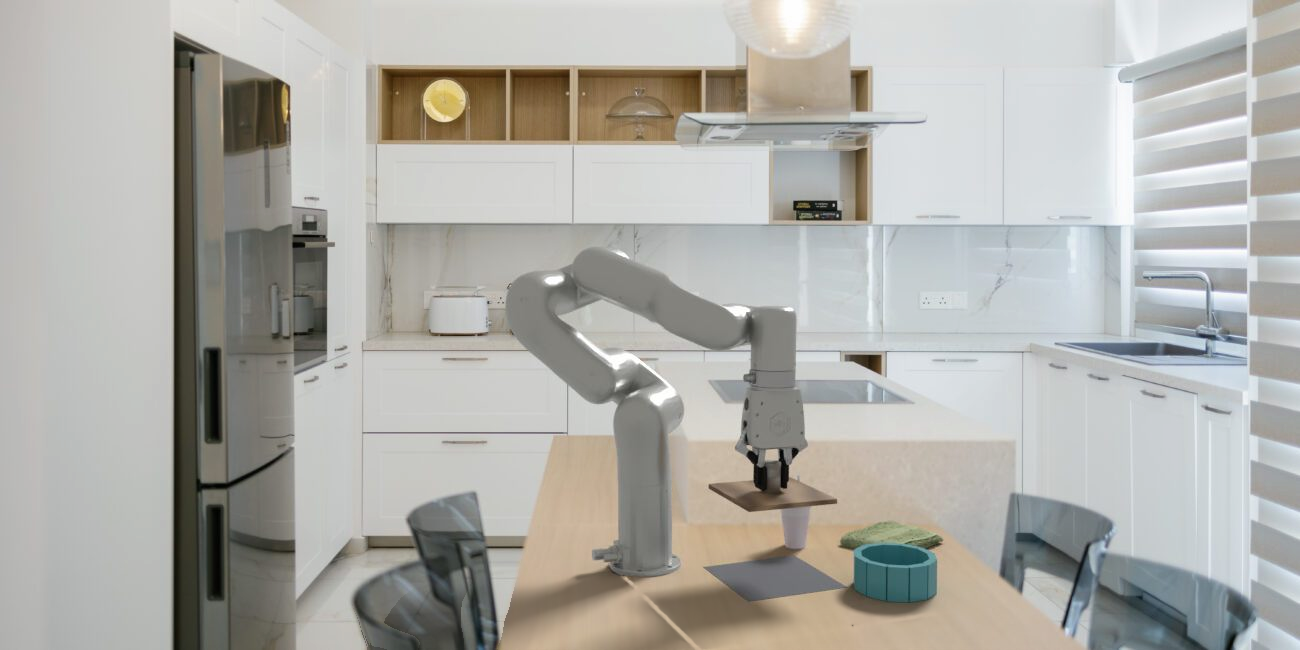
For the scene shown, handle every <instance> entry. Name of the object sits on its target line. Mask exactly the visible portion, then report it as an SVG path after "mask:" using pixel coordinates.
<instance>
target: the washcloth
mask: <svg viewBox="0 0 1300 650" xmlns="http://www.w3.org/2000/svg"><path fill="white" fill-rule="evenodd" d="M943 541H944V538H943V537H942V536H941V535H940V534H938V533H937V532H935V531H934V532H933V531H930V530H926V529H924V528H921V527H919V526H916V525H912V524H911V525H910V524H909V525H906V524H903V523H901V522H899V521H897V520H887V521H879V522H876V523H874V524H871V525H868V526H866V527H864V528H859V529H854V530H851V531H849V532H846V534H844V535H843V536H841V539H840V540H839V542H840V545H841V546H842V547H846V548H852V549H853V550H854V549H856V548H858V547H860V546H862V545H866V544H874V543H901V544H907V545H912V546H917V547H921V548H924V549H927V548H930V547H931V546H936V545H938V544H939V543H940V542H941V543H942V542H943Z"/></svg>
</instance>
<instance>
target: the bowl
mask: <svg viewBox="0 0 1300 650" xmlns="http://www.w3.org/2000/svg"><path fill="white" fill-rule="evenodd" d="M852 576H853V579H852V580H853V588H854V589H853V590H855V591H856V592H858V593H860V594H862V595H863V596H864V597H868V598H872V599H876V600H880V601H883V602H886V601H887V602H896V603H914V602H915V603H916V602H920V601H922V602H923V601H926V600H929V599H931V598H932V597H933V596H935V595H937V593H938V591H937V590H938V557H937V555H936V554H935V553H934V552H933V551H932V550H928V549H927V548H925V549H924V548H921V547H917V546H912V545H907V544H901V543H874V544H866V545H862V546H860V547H858V548H856V549H854V548H853V575H852Z"/></svg>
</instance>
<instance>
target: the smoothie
mask: <svg viewBox="0 0 1300 650" xmlns="http://www.w3.org/2000/svg"><path fill="white" fill-rule="evenodd" d="M796 480H797V481H800V482H801V474H797V475H796ZM811 507H812V506H808V507H797V508H787V509H780V514H781V521H782V530H783V538H784V546H785V548H788V549H791V550H802V549H805V548H806V546H807V538H808V530H809V522H810V517H811V516H810V515H811Z"/></svg>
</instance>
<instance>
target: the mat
mask: <svg viewBox="0 0 1300 650" xmlns="http://www.w3.org/2000/svg"><path fill="white" fill-rule="evenodd" d="M703 568H704V570H706V571H708V572H709V573H710V574H711V575H712V576H714V577H716V578H717V579H718V580H719V581H721V582H722V583H723V584H725V585H726V586H727V587H728V588H729V589H731V590H732V591H734V592H735V593H736V594H738V595H739V596H741V598H743V599H744V600H745V601H747V602H749V603H750V602H755V601H763V600H769V599H770V600H772V599H779V598H785V597H791V596H797V595H803V594H812V593H818V592H826V591H831V590H837V589H839V590H840V589H847V588H848V586H846V585H845V584H844V583H842V582H839V581H838V580H836V579H835V578H833V577H831V576H829V575H828V574H826V573H824V572H822V571H821V570H820V569H818V568H816V567H814V566H813V565H812V564H809V563H807V562H806V561H804V560H803V559H801V558H799V557H798V556H797V555H794V554H793V555H787V556H786V555H785V556H778V557H771V558H770V557H769V558H764V559H762V558H761V559H756V560H754V559H753V560H748V561H740V562H731V563H724V564H716V565H709V566H703Z"/></svg>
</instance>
